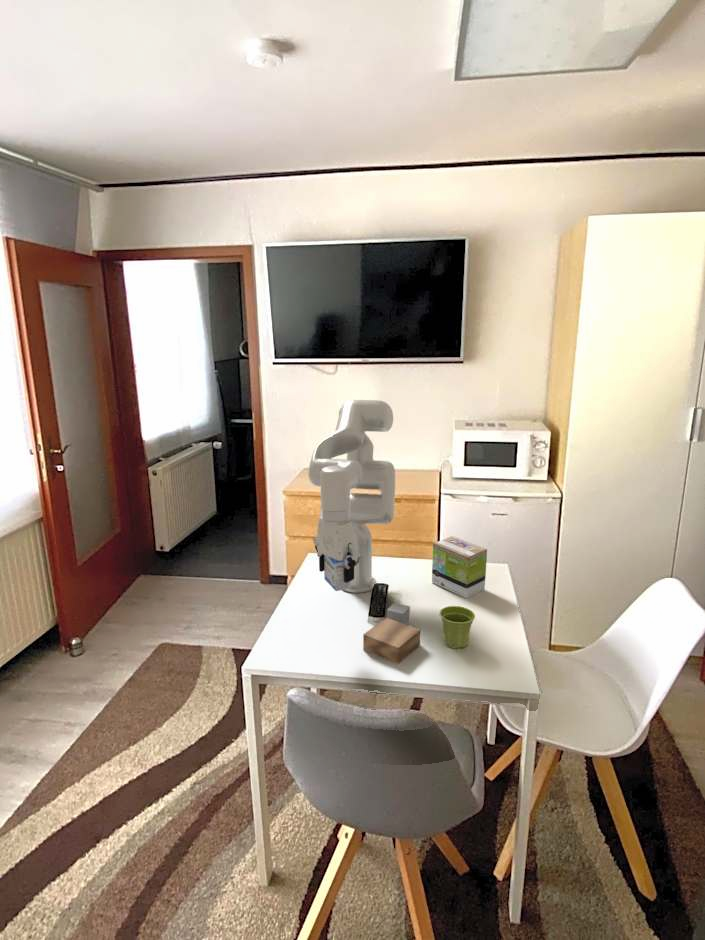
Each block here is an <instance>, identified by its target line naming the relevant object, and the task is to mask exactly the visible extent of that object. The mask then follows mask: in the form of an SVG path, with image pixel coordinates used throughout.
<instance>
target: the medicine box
mask: <svg viewBox="0 0 705 940" xmlns="http://www.w3.org/2000/svg"><path fill="white" fill-rule="evenodd" d="M347 561H348V563H349V562H350V558H348V559H347ZM344 568H346V567H345V565H344V563H343V561H338V560H335V559H333V558H330V557H328V556H326V555H324V571H323V572H324V576H323V579H324V581H326V583H328V584H329V585H330V587H331V588H332V589H333V590H334V591H335V592H339V591H345V589H349V588H350V585H351V581H350V582H347V583H345V582H344Z"/></svg>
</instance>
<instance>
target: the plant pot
mask: <svg viewBox="0 0 705 940" xmlns="http://www.w3.org/2000/svg"><path fill="white" fill-rule="evenodd" d="M439 616H440V619H441V622H442V630H443V641H444V643H445V644H446V646H447V647H449V648H453V649H459V648H465V647H466V646H467V645H468V641H469V636H470V632H471V628H472V624H473V622H474V620H475V618H476V614H475V612H474V611H473V610H471V609H469V608H468V607H463V606H459V605H451V606H450V605H449V606H445V607H442V608H441V609H440V610H439Z"/></svg>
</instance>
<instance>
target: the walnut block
mask: <svg viewBox="0 0 705 940" xmlns="http://www.w3.org/2000/svg"><path fill="white" fill-rule="evenodd" d="M362 636H363V637H362V638H363V643H362V645H363V648H362V649H363V651H364V652H367V653H370V654H373V655H374V656H377V657H380V658H381V659H384V660H386V661H389V662H392V663H394V664H397V665H399V664H400V663H402V662H403V661H404V660H405V659H406V658H407V657H408V656H410V655H411V654H412V653H413V652H414V651H416V650H417V649H418V648H419V647H420V646H421V629H419V628H417V627H413V626H411V625H409V624H407V625H405V624H403V623H400V622H397V621H394V620H391V619H389V618H387V617H385V618H384V619H383V620H381V621H380V622H378V623H377V624H375V625H374V626H373V627H371V628H370V629H369V630H367V631H366V632H364V633H363V635H362Z"/></svg>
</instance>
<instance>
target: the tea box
mask: <svg viewBox="0 0 705 940" xmlns="http://www.w3.org/2000/svg"><path fill="white" fill-rule="evenodd" d="M487 557H488V548H485V547H482V546H480V545H477V544H474V543H471V542H468V541H466V540H463V539H461V538H458V537H455V536H450V537H447V538H444V539H441V540H438V541H437V542H433V544H432V562H431V563H432V564H431V565H432V570H431V582H432V584H435V585H436V586H439V587H441V588H443V589H445V590H448V591H450V592H452V593H454V594H456V595H457V596H460V597H462V598H464V599H468V598H471V597H473V596H475V595H476V594H478V593H481V592H482V591H485V586H486V574H487V561H488V560H487Z"/></svg>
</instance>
